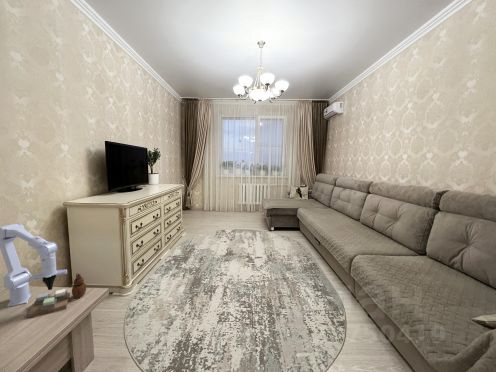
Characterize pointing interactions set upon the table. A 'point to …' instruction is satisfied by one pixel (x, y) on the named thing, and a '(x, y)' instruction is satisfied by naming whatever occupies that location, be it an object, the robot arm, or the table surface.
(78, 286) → the wooden figurine
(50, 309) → the console
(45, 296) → the grey button
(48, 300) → the green button
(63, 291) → the white button
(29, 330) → the table surface
